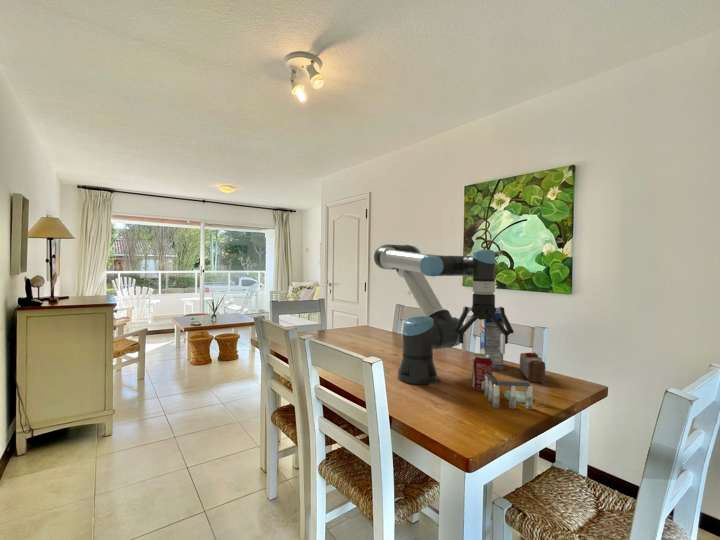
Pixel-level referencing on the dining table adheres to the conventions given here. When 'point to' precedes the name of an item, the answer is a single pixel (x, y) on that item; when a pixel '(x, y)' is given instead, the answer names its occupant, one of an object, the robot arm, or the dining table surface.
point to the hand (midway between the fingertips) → (483, 352)
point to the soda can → (480, 370)
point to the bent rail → (494, 391)
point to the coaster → (517, 396)
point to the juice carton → (491, 341)
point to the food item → (532, 367)
